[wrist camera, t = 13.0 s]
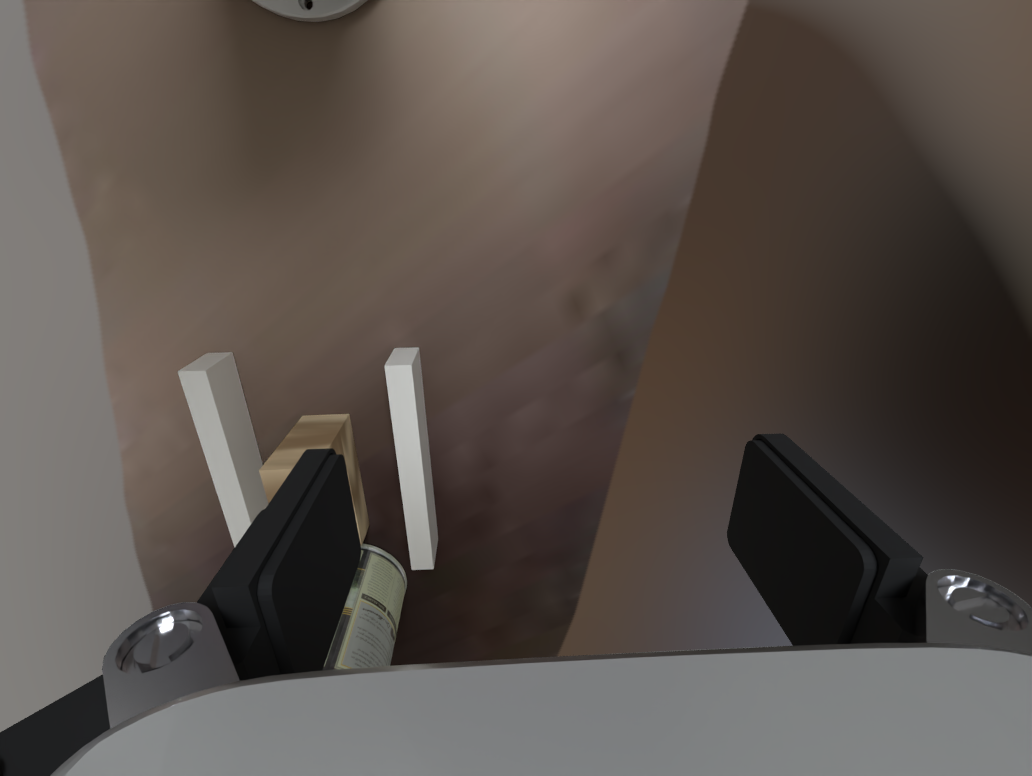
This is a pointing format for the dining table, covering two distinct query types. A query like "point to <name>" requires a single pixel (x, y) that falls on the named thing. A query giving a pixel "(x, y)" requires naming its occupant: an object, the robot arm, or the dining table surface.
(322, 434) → the wooden rectangular block
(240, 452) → the white rectangular posts
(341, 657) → the coffee can
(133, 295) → the dining table surface
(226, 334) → the dining table surface
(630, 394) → the dining table surface
